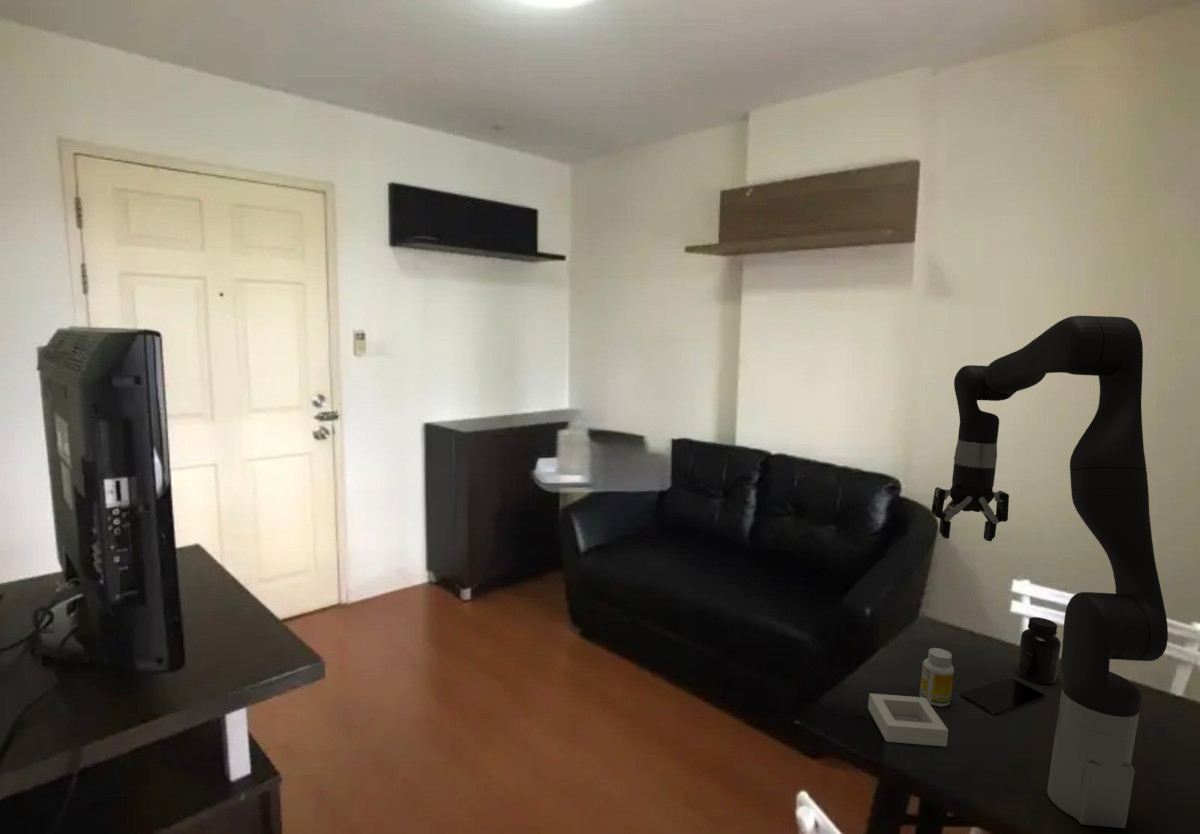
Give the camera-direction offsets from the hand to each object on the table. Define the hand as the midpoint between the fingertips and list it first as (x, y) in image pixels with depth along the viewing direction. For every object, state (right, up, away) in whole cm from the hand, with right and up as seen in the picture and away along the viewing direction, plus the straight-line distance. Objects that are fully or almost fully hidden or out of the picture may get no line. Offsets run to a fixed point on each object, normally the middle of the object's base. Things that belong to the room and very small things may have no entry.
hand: (966, 538), depth 139 cm
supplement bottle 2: (+14, -29, -1) cm, 32 cm away
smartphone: (+2, -30, -9) cm, 31 cm away
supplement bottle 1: (-12, -29, -11) cm, 33 cm away
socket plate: (-22, -30, -20) cm, 42 cm away
